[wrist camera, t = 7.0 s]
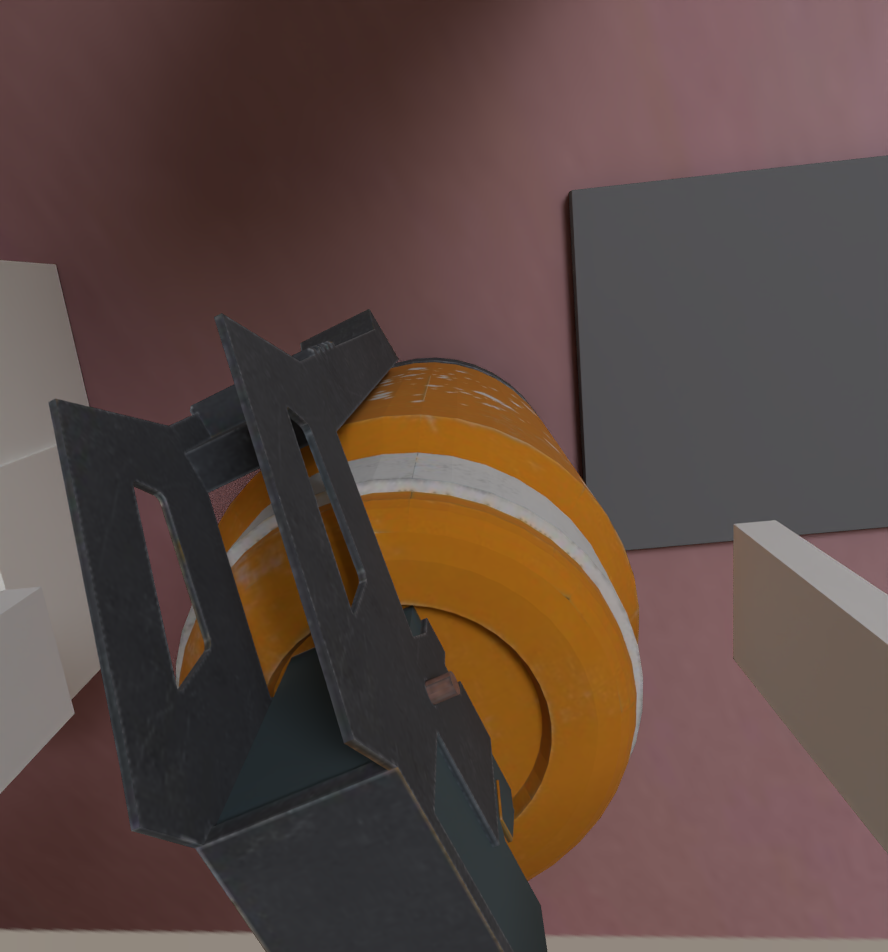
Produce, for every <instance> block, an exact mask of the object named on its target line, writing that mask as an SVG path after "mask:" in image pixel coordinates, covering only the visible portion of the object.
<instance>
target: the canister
mask: <svg viewBox="0 0 888 952" xmlns="http://www.w3.org/2000/svg"><path fill="white" fill-rule="evenodd" d="M214 319H215V322H216V325H217V328H218V332H219V335H220V338H221V341H222V345H223V348H224V351H225V354H226V358H227V361H228V364H229V368H230V371H231V374H232V377H233V381H234V385H232V386H230V387H228V388H226V389H224V390H222V391H220V392H218V393H216V394H214V395H212V396H210V397H208V398H206V399H204V400H202V401H200V402H198V403H196V404H194V405H192V406H191V408H190V412H191V414H192V416H190V417H187V418H185V419H183V420H181V421H179V422H176V423H174V424H172V425H170V426H167V425H163V424H159V423H155V422H150V421H146V420H142V419H138V418H134V417H130V416H126V415H122V414H117V413H113V412H109V411H105V410H101V409H97V408H93V407H89V406H84V405H80V404H76V403H72V402H68V401H64V400H60V399H56V398H55V399H53V400H51V401H50V402H48V403H49V408H50V413H51V418H52V423H53V429H54V434H55V439H56V444H57V449H58V454H59V459H60V464H61V469H62V474H63V480H64V485H65V490H66V495H67V500H68V505H69V510H70V515H71V520H72V525H73V531H74V536H75V541H76V546H77V551H78V556H79V561H80V566H81V571H82V576H83V581H84V587H85V592H86V597H87V602H88V607H89V612H90V617H91V622H92V627H93V632H94V638H95V643H96V648H97V653H98V658H99V663H100V668H101V673H102V678H103V683H104V689H105V694H106V699H107V704H108V709H109V714H110V719H111V724H112V729H113V734H114V740H115V745H116V750H117V755H118V760H119V765H120V770H121V776H122V781H123V787H124V793H125V798H126V804H127V809H128V815H129V821H130V826H131V831H134V832H137V833H141V834H145V835H148V836H152V837H155V838H159V839H163V840H166V841H170V842H174V843H177V844H181V845H184V846H188V847H192V848H195V849H196V850H197V852H198V853H199V855H200V856H201V858H202V859H203V861H204V862H205V863H206V865H207V866H208V868H209V869H210V871H211V872H212V874H213V875H214V877H215V878H216V880H217V881H218V882H219V884H220V885H221V887H222V888H223V890H224V891H225V893H226V894H227V896H228V897H229V899H230V900H231V902H232V903H233V904H234V906H235V907H236V909H237V910H238V912H239V913H240V915H241V916H242V918H243V919H244V921H245V922H246V923H247V925H248V926H249V928H250V929H251V931H252V932H253V934H254V935H255V937H256V938H257V940H258V941H259V942H260V944H261V945H262V947H263V948H264V950H265V951H266V952H547V946H546V939H545V932H544V925H543V918H542V911H541V905H540V903H539V901H538V900H537V898H536V896H535V894H534V892H533V890H532V889H531V887H530V885H529V883H528V881H529V880H530V879H532V878H533V877H535V876H536V875H538V874H540V873H541V872H543V871H544V870H546V869H548V868H549V867H551V866H552V865H554V864H555V863H556V862H557V861H558V860H559V859H561V858H562V857H563V856H564V855H565V854H566V853H568V852H569V851H570V850H571V849H572V848H573V847H575V846H576V845H577V844H578V843H579V842H580V841H581V840H582V839H583V838H584V836H585V835H586V834H587V833H588V832H589V831H590V829H591V828H592V827H593V826H594V825H595V824H596V822H597V821H598V820H599V819H600V818H601V816H602V814H603V813H604V811H605V809H606V808H607V806H608V804H609V803H610V801H611V800H612V798H613V796H614V795H615V793H616V791H617V789H618V786H619V784H620V781H621V779H622V776H623V774H624V771H625V769H626V766H627V763H628V761H629V758H630V756H631V753H632V751H633V748H634V746H635V743H636V739H637V734H638V729H639V724H640V719H641V714H642V698H643V675H642V669H641V662H640V656H639V649H638V633H639V605H638V599H637V592H636V585H635V579H634V575H633V572H632V569H631V566H630V563H629V560H628V557H627V554H626V551H625V548H624V545H623V543H622V541H621V540H620V538H619V536H618V534H617V532H616V530H615V529H614V527H613V525H612V523H611V521H610V519H609V517H608V516H607V514H606V513H605V511H604V510H603V508H602V507H601V506H600V504H599V503H598V501H597V500H596V498H595V497H594V496H593V494H592V493H591V491H590V490H589V488H588V487H587V485H586V484H585V483H584V481H583V480H582V478H581V477H580V475H579V474H578V473H577V471H576V470H575V468H574V467H573V465H572V464H571V463H570V461H569V460H568V458H567V457H566V455H565V454H564V452H563V451H562V450H561V448H560V447H559V445H558V444H557V442H556V441H555V440H554V438H553V437H552V435H551V434H550V432H549V431H548V430H547V428H546V427H545V425H544V424H543V422H542V421H541V420H540V418H539V417H538V415H537V414H536V412H535V411H534V410H533V409H532V407H531V406H530V405H529V403H528V402H527V401H526V400H525V398H524V397H523V396H522V395H521V394H520V393H519V392H518V391H516V390H515V389H514V388H513V387H512V386H511V385H510V384H509V383H507V382H506V381H504V380H503V379H501V378H500V377H498V376H497V375H495V374H494V373H492V372H489V371H487V370H485V369H483V368H481V367H478V366H476V365H473V364H470V363H466V362H462V361H459V360H454V359H444V358H419V359H412V360H408V361H403V362H398V363H396V362H397V361H398V360H399V359H398V357H397V356H396V354H395V352H394V350H393V349H392V347H391V345H390V344H389V342H388V340H387V338H386V337H385V335H384V333H383V332H382V330H381V328H380V326H379V325H378V323H377V321H376V320H375V318H374V316H373V314H372V313H371V311H370V309H368V310H366V311H364V312H362V313H360V314H358V315H356V316H354V317H352V318H350V319H348V320H346V321H344V322H342V323H340V324H338V325H336V326H334V327H332V328H330V329H328V330H326V331H324V332H322V333H320V334H318V335H316V336H314V337H312V338H310V339H308V340H306V341H304V342H302V343H300V346H301V352H299V353H297V354H295V355H293V356H290V355H288V354H287V353H285V352H284V351H282V350H280V349H279V348H277V347H276V346H274V345H272V344H271V343H269V342H267V341H266V340H264V339H263V338H261V337H259V336H258V335H256V334H254V333H253V332H251V331H250V330H248V329H246V328H245V327H243V326H242V325H240V324H238V323H237V322H235V321H233V320H232V319H230V318H229V317H227V316H225V315H224V314H222V313H221V314H219V315H217V316H215V317H214ZM259 468H260V469H261V471H260V472H259V473H258V474H257V475H255V476H254V477H253V478H252V479H251V481H250V482H249V483H248V484H247V485H246V486H245V488H244V489H243V490H242V491H241V492H240V493H239V495H238V496H237V497H236V498H235V499H234V500H233V502H232V503H231V504H230V505H229V507H228V509H227V510H226V512H225V514H224V515H223V517H222V519H221V521H220V522H219V524H217V521H216V517H215V514H214V511H213V507H212V504H211V501H210V498H209V494H208V493H209V492H211V491H213V490H215V489H217V488H219V487H222V486H224V485H226V484H228V483H230V482H232V481H234V480H236V479H238V478H240V477H243V476H245V475H247V474H249V473H251V472H253V471H255V470H257V469H259ZM133 486H134V487H136V488H139V489H141V490H143V491H145V492H148V493H150V494H152V495H154V496H155V497H156V498H157V499H158V500H159V502H160V504H161V507H162V510H163V513H164V517H165V520H166V523H167V526H168V529H169V533H170V536H171V539H172V542H173V545H174V549H175V552H176V555H177V558H178V561H179V565H180V568H181V571H182V574H183V577H184V581H185V584H186V587H187V590H188V593H189V596H190V600H191V603H192V607H191V609H190V612H189V614H188V617H187V620H186V622H185V625H184V628H183V630H182V634H181V640H180V645H179V651H178V656H177V661H176V681H175V676H174V671H173V667H172V662H171V658H170V653H169V648H168V644H167V639H166V635H165V630H164V625H163V621H162V616H161V611H160V607H159V602H158V598H157V593H156V588H155V584H154V579H153V575H152V570H151V565H150V561H149V556H148V552H147V547H146V542H145V538H144V533H143V528H142V524H141V519H140V515H139V510H138V505H137V501H136V496H135V492H134V487H133Z"/></svg>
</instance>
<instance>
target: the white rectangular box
mask: <svg viewBox="0 0 888 952" xmlns="http://www.w3.org/2000/svg"><path fill="white" fill-rule="evenodd" d="M55 398H56V399H60V400H64V401H68V402H72V403H76V404H80V405H84V406H89V403H88V399H87V394H86V390H85V386H84V382H83V377H82V373H81V369H80V365H79V360H78V356H77V352H76V348H75V343H74V339H73V335H72V331H71V327H70V322H69V318H68V314H67V310H66V305H65V301H64V297H63V293H62V288H61V284H60V280H59V276H58V271H57V267H56V264H44V263H31V262H18V261H5V260H0V592H1V591H2V590H10V589H21V588H32V587H42V591H43V594H44V598H45V602H46V606H47V610H48V613H49V617H50V621H51V625H52V629H53V633H54V636H55V640H56V644H57V648H58V652H59V655H60V659H61V663H62V667H63V671H64V674H65V678H66V682H67V686H68V690H69V694H70V697H71V700H72V699H73V698H74V697H75V695H76V694H77V693H78V692H79V691H80V690H81V689H82V688H83V687H84V686H85V685H86V684H87V683H88V682H89V681H90V680H91V679H92V677H93V676H94V675H95V674H96V673H97V672H98V671H99V670H100V669H101V668H100V663H99V658H98V653H97V648H96V643H95V638H94V632H93V627H92V622H91V617H90V612H89V607H88V602H87V597H86V592H85V587H84V581H83V576H82V571H81V566H80V561H79V556H78V551H77V546H76V541H75V536H74V531H73V525H72V520H71V515H70V510H69V505H68V500H67V495H66V490H65V485H64V480H63V474H62V469H61V464H60V459H59V454H58V449H57V444H56V439H55V434H54V429H53V423H52V418H51V413H50V408H49V403H48V402H50V401H51V400H53V399H55Z"/></svg>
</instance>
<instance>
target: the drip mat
mask: <svg viewBox="0 0 888 952" xmlns="http://www.w3.org/2000/svg"><path fill="white" fill-rule="evenodd" d="M569 207H570V226H571V246H572V266H573V286H574V305H575V325H576V345H577V364H578V384H579V404H580V423H581V443H582V463H583V481H584V483H585V484H586V485H587V487H588V488H589V490H590V491H591V493H592V494H593V496H594V497H595V498H596V500H597V501H598V503H599V504H600V506H601V507H602V508H603V510H604V511H605V513H606V514H607V516H608V517H609V519H610V521H611V523H612V525H613V527H614V529H615V530H616V532H617V534H618V536H619V538H620V540H621V541H622V543H623V545H624V548H625V550H633V549H645V548H656V547H667V546H678V545H689V544H701V543H712V542H723V541H734V524H738V523H750V522H761V521H772V520H776V521H778V522H779V523H781V524H782V525H784V526H785V527H787V528H788V529H790V530H791V531H793V532H794V533H796V534H797V535H802V534H813V533H824V532H835V531H847V530H858V529H869V528H880V527H888V156H879V157H870V158H861V159H851V160H842V161H833V162H824V163H815V164H806V165H797V166H788V167H779V168H770V169H761V170H752V171H742V172H733V173H724V174H715V175H706V176H697V177H688V178H679V179H670V180H661V181H652V182H643V183H634V184H624V185H615V186H606V187H597V188H588V189H579V190H572V191H570V192H569Z"/></svg>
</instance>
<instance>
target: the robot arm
mask: <svg viewBox="0 0 888 952" xmlns="http://www.w3.org/2000/svg"><path fill="white" fill-rule="evenodd" d="M733 659H734V660H735V661H736V663H737V664H738V665H739V666H740V668H741V669H742V670H743V672H744V673H745V674H746V675H747V677H748V678H749V679H750V680H751V682H752V683H753V684H754V685H755V687H756V688H757V689H758V690H759V692H760V693H761V694H762V696H763V697H764V698H765V699H766V701H767V702H768V703H769V704H770V706H771V707H772V708H773V709H774V711H775V712H776V713H777V714H778V716H779V717H780V718H781V720H782V721H783V722H784V723H785V725H786V726H787V727H788V728H789V730H790V731H791V732H792V733H793V735H794V736H795V737H796V738H797V740H798V741H799V742H800V744H801V745H802V746H803V747H804V749H805V750H806V751H807V752H808V754H809V755H810V756H811V757H812V759H813V760H814V761H815V762H816V764H817V765H818V766H819V768H820V769H821V770H822V771H823V773H824V774H825V775H826V776H827V778H828V779H829V780H830V781H831V783H832V784H833V785H834V786H835V788H836V789H837V790H838V792H839V793H840V794H841V795H842V797H843V798H844V799H845V800H846V802H847V803H848V804H849V805H850V807H851V808H852V809H853V810H854V812H855V813H856V814H857V816H858V817H859V818H860V819H861V821H862V822H863V823H864V824H865V826H866V827H867V828H868V829H869V831H870V832H871V833H872V834H873V836H874V837H875V838H876V840H877V841H878V842H879V843H880V845H881V846H882V847H883V848H884V850H885V851H886V852H887V853H888V595H887V594H886V593H884V592H883V591H881V590H880V589H878V588H877V587H875V586H874V585H872V584H871V583H869V582H868V581H866V580H865V579H863V578H862V577H860V576H859V575H857V574H856V573H854V572H853V571H851V570H850V569H848V568H847V567H845V566H844V565H842V564H841V563H839V562H838V561H836V560H835V559H833V558H832V557H830V556H829V555H827V554H826V553H824V552H823V551H821V550H820V549H818V548H817V547H815V546H814V545H812V544H811V543H809V542H808V541H806V540H805V539H803V538H802V537H800V536H799V535H797V534H796V533H794V532H793V531H791V530H790V529H788V528H787V527H785V526H784V525H782V524H781V523H779V522H778V521H776V520H772V521H761V522H750V523H738V524H734V544H733ZM74 714H75V713H74V709H73V705H72V701H71V697H70V694H69V690H68V686H67V682H66V678H65V674H64V671H63V667H62V663H61V659H60V655H59V652H58V648H57V644H56V640H55V636H54V633H53V629H52V625H51V621H50V617H49V613H48V610H47V606H46V602H45V598H44V594H43V591H42V587H32V588H21V589H10V590H2V591H1V592H0V793H1V792H2V791H3V790H4V789H5V788H6V787H7V786H8V785H9V784H10V783H11V782H12V780H13V779H14V778H15V777H16V776H17V775H18V774H19V773H20V772H21V771H22V770H23V769H24V768H25V766H26V765H27V764H28V763H29V762H30V761H31V760H32V759H33V758H34V757H35V756H36V755H37V754H38V752H39V751H40V750H41V749H42V748H43V747H44V746H45V745H46V744H47V743H48V742H49V741H50V740H51V738H52V737H53V736H54V735H55V734H56V733H57V732H58V731H59V730H60V729H61V728H62V727H63V726H64V724H65V723H66V722H67V721H68V720H69V719H70V718H71V717H72V716H73V715H74Z"/></svg>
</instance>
